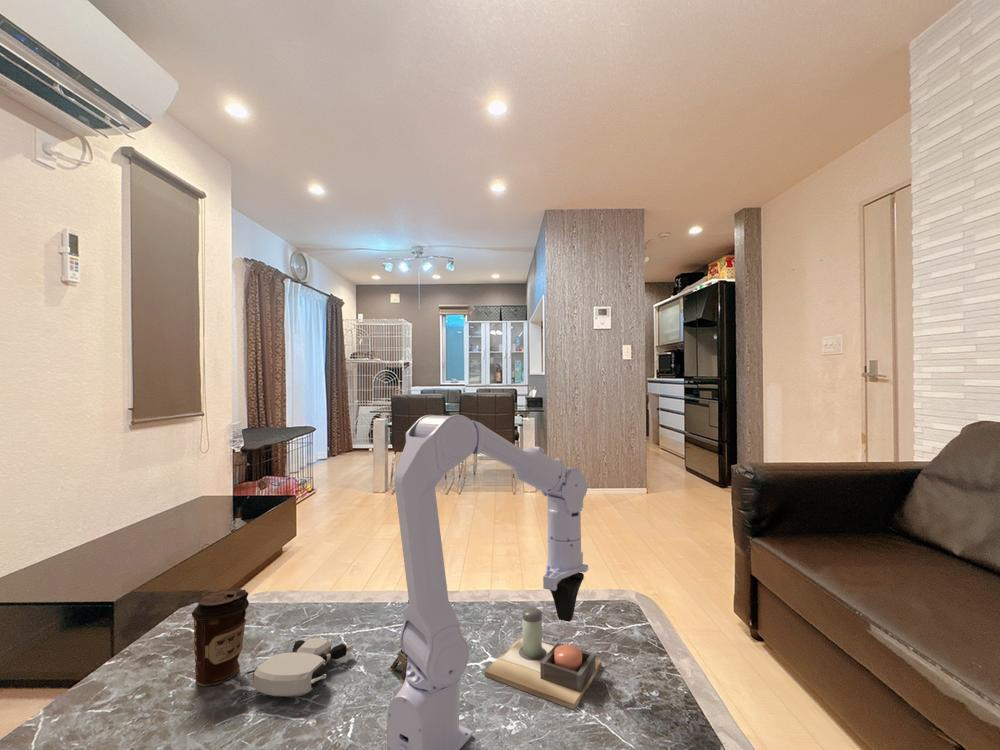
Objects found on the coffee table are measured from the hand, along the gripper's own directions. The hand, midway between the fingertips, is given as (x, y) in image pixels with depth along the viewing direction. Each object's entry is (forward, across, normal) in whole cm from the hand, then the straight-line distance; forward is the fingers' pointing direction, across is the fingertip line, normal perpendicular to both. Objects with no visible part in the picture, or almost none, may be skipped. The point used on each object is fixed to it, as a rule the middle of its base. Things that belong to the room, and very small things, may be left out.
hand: (565, 618), depth 73 cm
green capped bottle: (+8, +3, +7) cm, 12 cm away
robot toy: (+10, -21, +39) cm, 46 cm away
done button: (+7, 0, -1) cm, 7 cm away
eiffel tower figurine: (+10, -11, +24) cm, 28 cm away
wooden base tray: (+9, 0, +4) cm, 10 cm away
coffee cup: (+10, -27, +52) cm, 60 cm away
